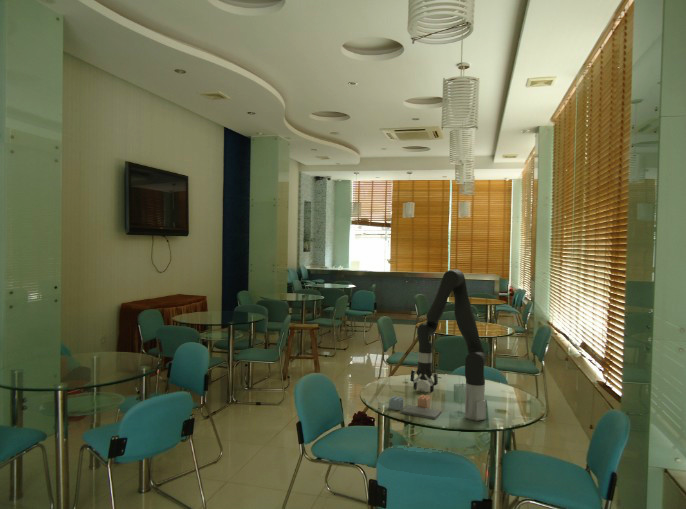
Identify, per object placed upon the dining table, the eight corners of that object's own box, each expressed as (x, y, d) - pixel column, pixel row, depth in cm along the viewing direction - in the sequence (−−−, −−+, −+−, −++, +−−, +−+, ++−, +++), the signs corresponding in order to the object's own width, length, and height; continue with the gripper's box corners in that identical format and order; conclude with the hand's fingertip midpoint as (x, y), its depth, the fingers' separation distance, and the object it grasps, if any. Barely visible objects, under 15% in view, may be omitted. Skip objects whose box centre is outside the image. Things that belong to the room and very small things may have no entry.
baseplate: (441, 413, 265) (441, 410, 265) (435, 419, 255) (435, 416, 255) (408, 407, 273) (408, 404, 273) (400, 413, 263) (400, 410, 263)
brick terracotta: (421, 404, 278) (421, 394, 278) (430, 406, 276) (430, 395, 275) (417, 407, 272) (417, 396, 272) (426, 409, 270) (427, 398, 270)
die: (434, 392, 304) (428, 376, 309) (432, 388, 297) (427, 372, 302) (420, 396, 305) (415, 381, 310) (419, 392, 297) (413, 377, 303)
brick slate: (403, 407, 272) (403, 396, 272) (399, 410, 267) (400, 399, 267) (392, 406, 275) (392, 395, 274) (389, 408, 270) (389, 397, 270)
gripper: (409, 360, 273) (408, 390, 274) (436, 364, 267) (434, 395, 267) (414, 357, 280) (412, 387, 280) (440, 361, 274) (438, 391, 274)
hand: (423, 391), depth 274 cm, fingers open, 8 cm apart
